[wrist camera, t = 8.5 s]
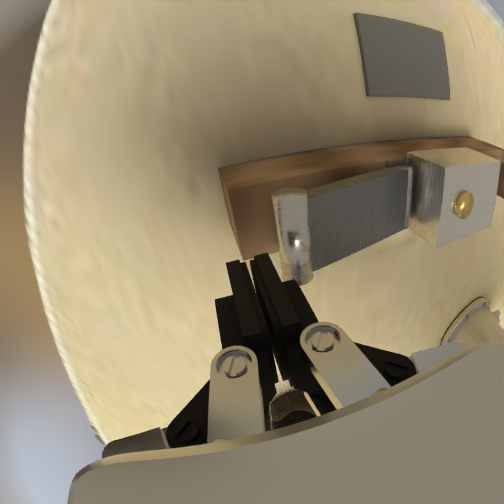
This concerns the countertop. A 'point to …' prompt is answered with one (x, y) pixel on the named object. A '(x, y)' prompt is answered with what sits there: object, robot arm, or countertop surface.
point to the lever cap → (451, 193)
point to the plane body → (315, 180)
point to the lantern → (291, 410)
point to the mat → (402, 58)
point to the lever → (339, 218)
